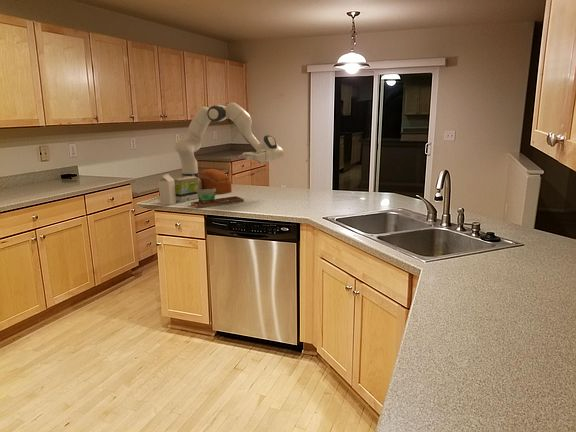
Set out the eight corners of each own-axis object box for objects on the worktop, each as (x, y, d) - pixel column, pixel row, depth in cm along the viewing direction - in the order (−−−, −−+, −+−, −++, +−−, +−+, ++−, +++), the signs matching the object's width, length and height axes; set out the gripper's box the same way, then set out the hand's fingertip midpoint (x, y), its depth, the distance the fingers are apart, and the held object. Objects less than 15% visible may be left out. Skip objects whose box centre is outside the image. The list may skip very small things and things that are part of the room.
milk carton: (176, 202, 275) (173, 173, 270) (170, 205, 268) (167, 175, 264) (166, 202, 277) (163, 173, 272) (160, 204, 270) (157, 174, 266)
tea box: (182, 202, 276) (180, 179, 273) (172, 200, 282) (170, 178, 278) (199, 198, 288) (198, 176, 284) (190, 196, 294) (188, 175, 290)
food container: (197, 206, 263) (196, 190, 261) (197, 204, 269) (196, 188, 267) (218, 204, 267) (217, 189, 264) (216, 202, 272) (215, 187, 270)
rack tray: (191, 205, 268) (190, 202, 267) (236, 199, 284) (236, 196, 284) (197, 208, 259) (197, 205, 259) (243, 201, 276) (243, 198, 275)
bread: (212, 186, 333) (211, 166, 329) (233, 192, 308) (232, 170, 304) (195, 188, 325) (194, 168, 321) (216, 194, 300) (215, 172, 296)
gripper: (253, 149, 290) (235, 151, 283) (269, 152, 273) (250, 153, 266) (254, 159, 291) (235, 160, 284) (269, 161, 275) (250, 163, 267)
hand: (242, 157), depth 275 cm, fingers open, 8 cm apart
